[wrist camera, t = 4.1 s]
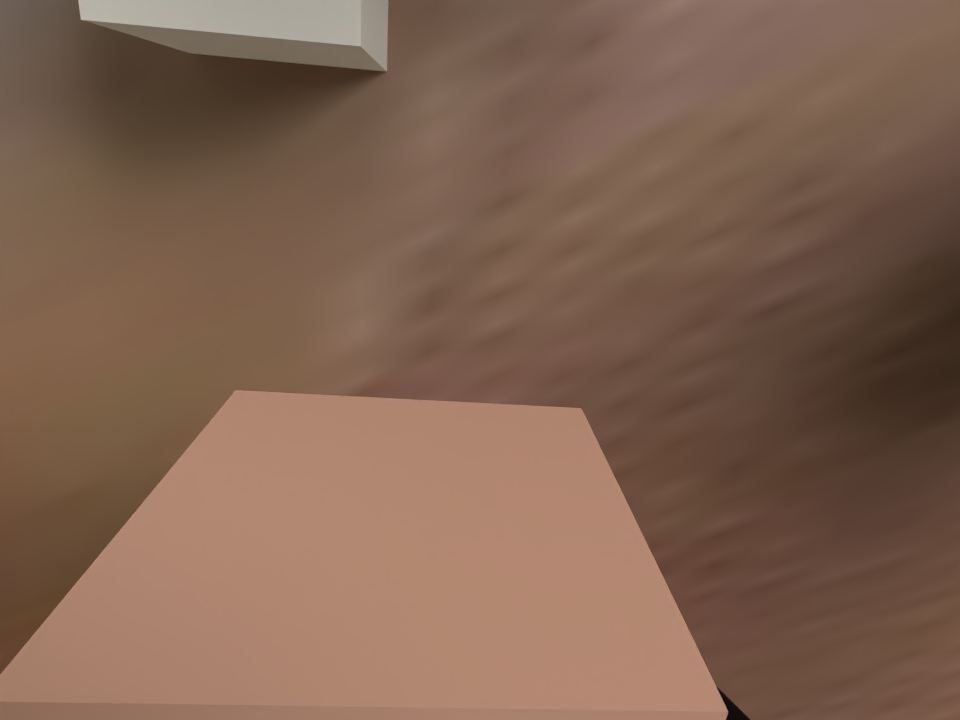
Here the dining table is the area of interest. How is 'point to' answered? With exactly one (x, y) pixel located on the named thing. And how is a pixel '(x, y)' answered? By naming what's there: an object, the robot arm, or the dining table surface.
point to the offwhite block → (256, 28)
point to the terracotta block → (372, 579)
